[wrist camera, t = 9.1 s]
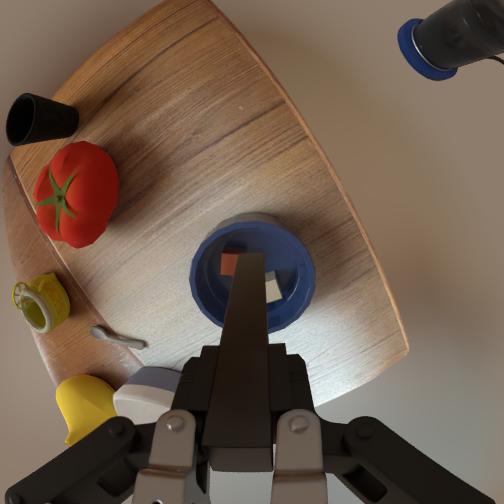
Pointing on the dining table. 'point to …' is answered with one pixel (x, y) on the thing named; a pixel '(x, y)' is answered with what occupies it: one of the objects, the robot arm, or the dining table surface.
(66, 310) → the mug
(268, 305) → the bowl
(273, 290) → the block
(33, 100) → the cup
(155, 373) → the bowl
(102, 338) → the spoon
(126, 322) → the dining table surface
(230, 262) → the block
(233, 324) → the stick
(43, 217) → the tomato
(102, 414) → the vase
